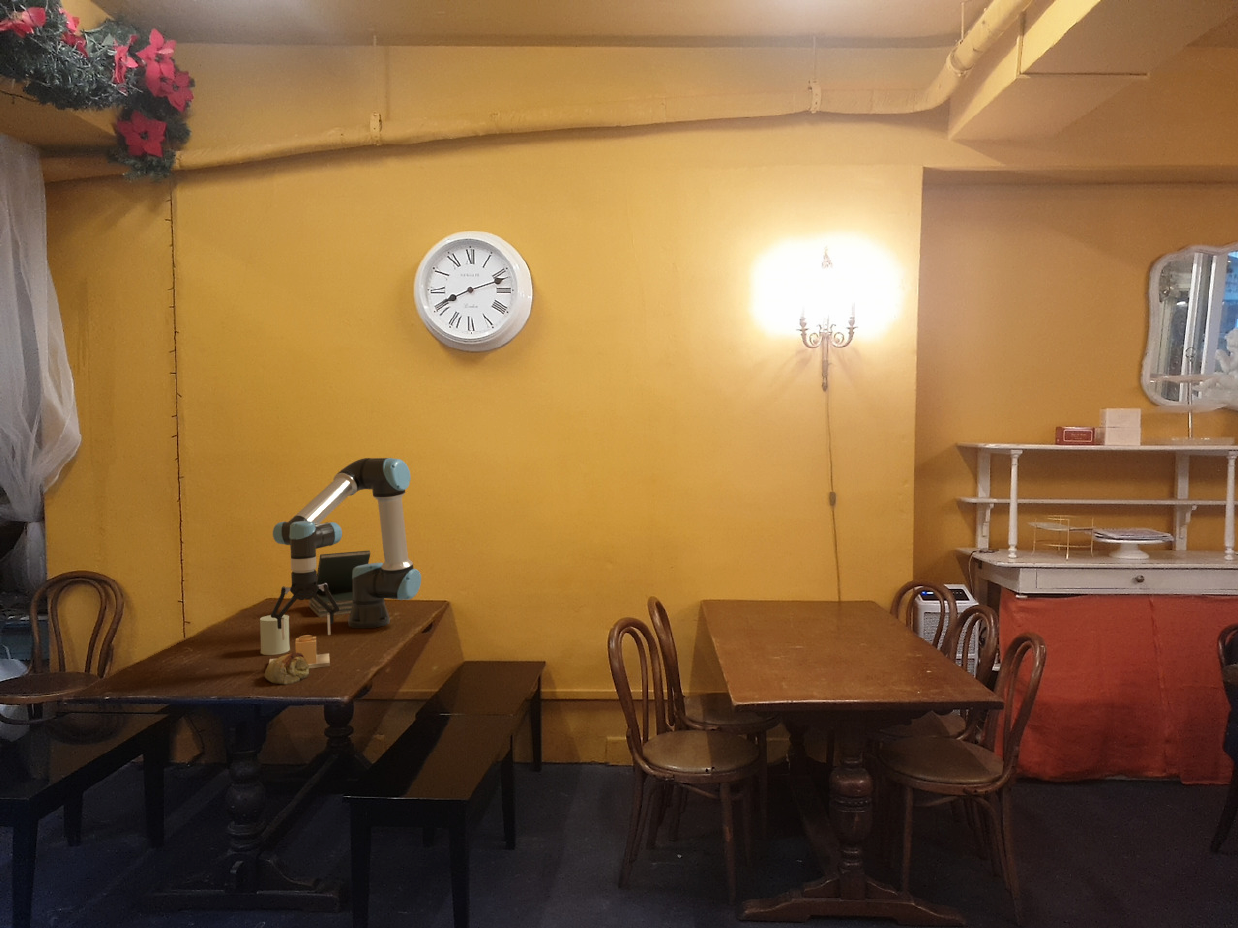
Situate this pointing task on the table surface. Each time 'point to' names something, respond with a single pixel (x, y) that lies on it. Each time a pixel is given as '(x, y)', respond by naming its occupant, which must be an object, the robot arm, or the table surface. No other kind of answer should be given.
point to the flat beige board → (318, 661)
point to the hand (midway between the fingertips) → (306, 636)
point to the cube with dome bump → (307, 647)
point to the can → (273, 636)
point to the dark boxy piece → (338, 580)
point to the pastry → (287, 669)
